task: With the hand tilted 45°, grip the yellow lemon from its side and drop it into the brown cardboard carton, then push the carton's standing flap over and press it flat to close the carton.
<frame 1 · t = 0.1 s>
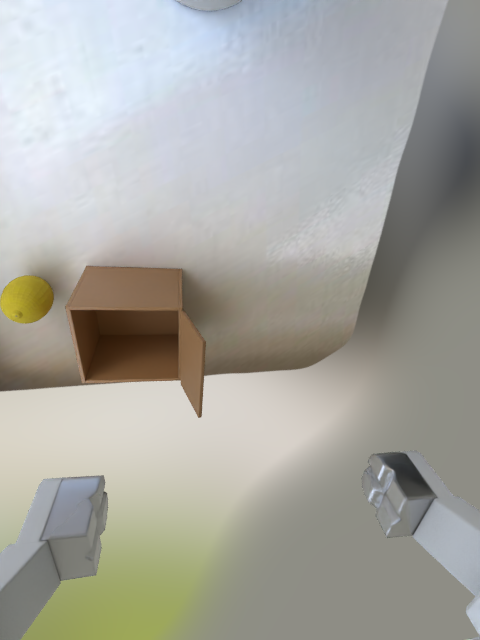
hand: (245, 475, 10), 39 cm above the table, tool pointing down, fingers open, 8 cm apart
lemon: (39, 283, 46), on the table
carton: (138, 303, 50), on the table
flap: (191, 365, 40), point 14 cm above the table, hinge at 110.0°
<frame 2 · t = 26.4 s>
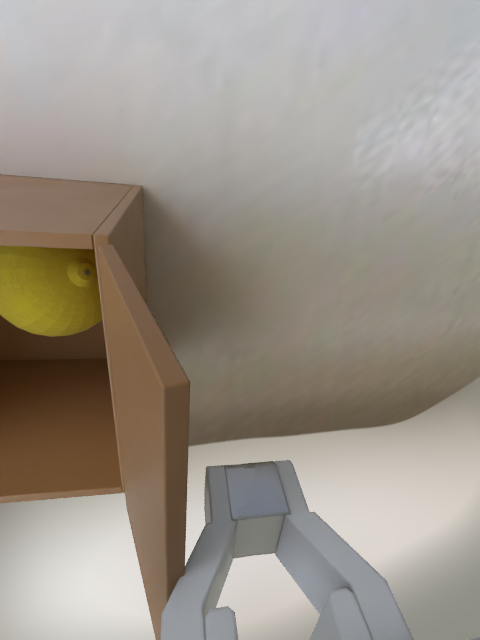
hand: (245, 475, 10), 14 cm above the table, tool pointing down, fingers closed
lemon: (34, 284, 19), point 1 cm above the table, touching carton
carton: (37, 281, 20), on the table
flap: (141, 478, 10), point 14 cm above the table, hinge at 108.0°, touching gripper
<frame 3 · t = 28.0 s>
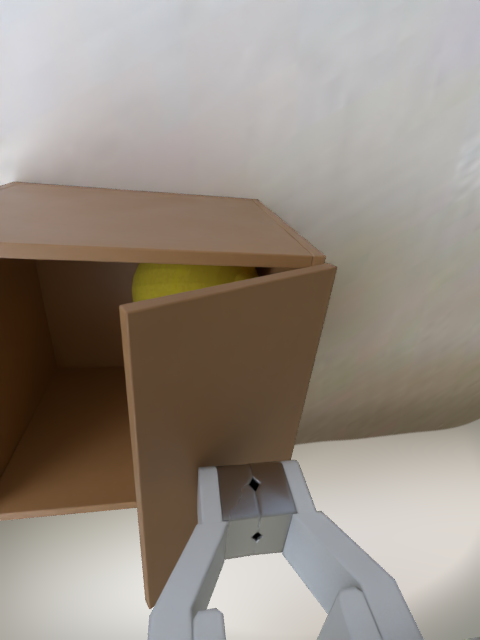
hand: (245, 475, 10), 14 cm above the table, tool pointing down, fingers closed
lemon: (151, 294, 20), point 1 cm above the table, touching carton
carton: (147, 290, 21), on the table
flap: (231, 450, 11), point 13 cm above the table, hinge at 28.5°, touching gripper
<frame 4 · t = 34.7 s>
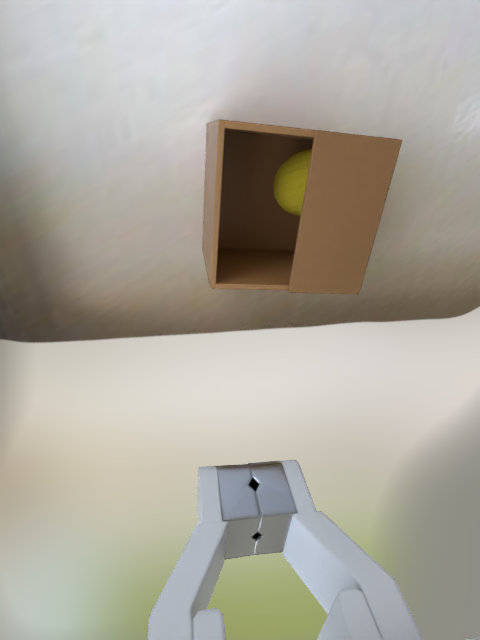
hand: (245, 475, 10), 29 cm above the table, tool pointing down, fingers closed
lemon: (273, 195, 33), point 1 cm above the table, touching carton
carton: (266, 196, 35), on the table
flap: (339, 222, 26), point 11 cm above the table, hinge at -1.4°
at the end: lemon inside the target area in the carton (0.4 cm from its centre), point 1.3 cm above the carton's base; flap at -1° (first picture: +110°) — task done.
